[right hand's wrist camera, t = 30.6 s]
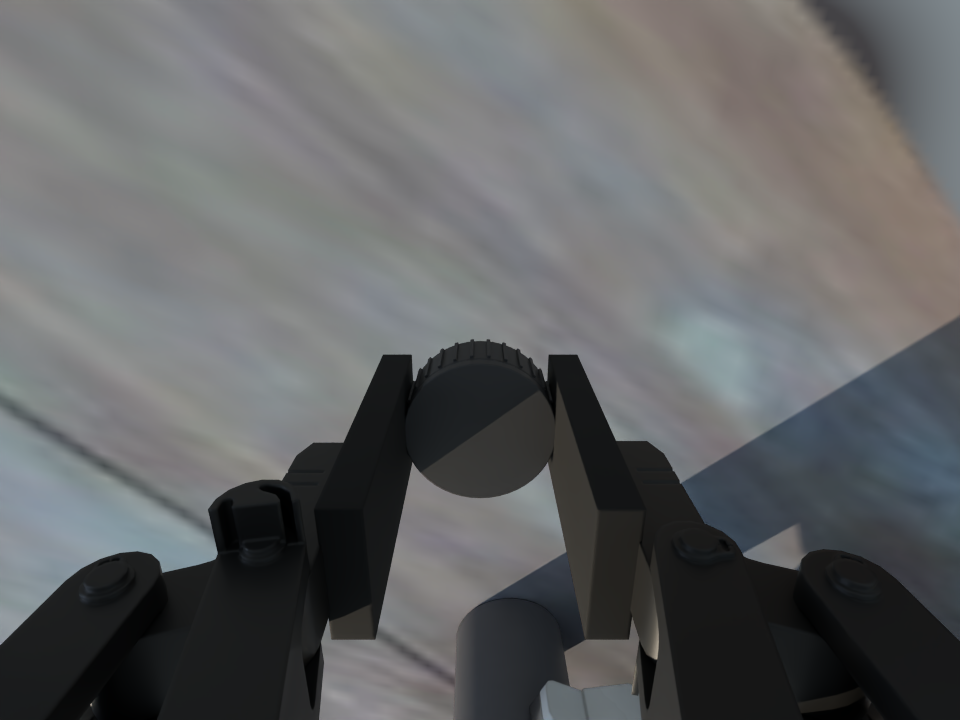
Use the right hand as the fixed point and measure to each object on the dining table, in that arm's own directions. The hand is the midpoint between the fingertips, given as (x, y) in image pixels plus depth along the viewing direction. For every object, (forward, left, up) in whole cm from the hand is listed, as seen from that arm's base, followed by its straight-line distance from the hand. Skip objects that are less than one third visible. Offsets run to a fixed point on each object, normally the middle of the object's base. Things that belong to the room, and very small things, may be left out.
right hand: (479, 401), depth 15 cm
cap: (0, 0, +1) cm, 1 cm away
